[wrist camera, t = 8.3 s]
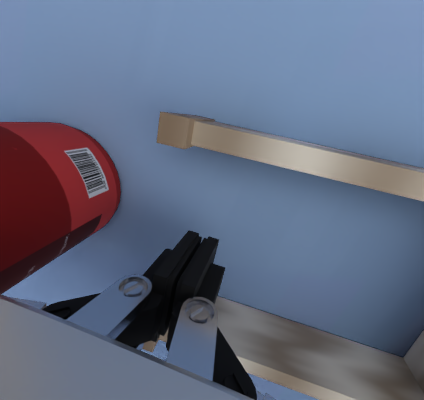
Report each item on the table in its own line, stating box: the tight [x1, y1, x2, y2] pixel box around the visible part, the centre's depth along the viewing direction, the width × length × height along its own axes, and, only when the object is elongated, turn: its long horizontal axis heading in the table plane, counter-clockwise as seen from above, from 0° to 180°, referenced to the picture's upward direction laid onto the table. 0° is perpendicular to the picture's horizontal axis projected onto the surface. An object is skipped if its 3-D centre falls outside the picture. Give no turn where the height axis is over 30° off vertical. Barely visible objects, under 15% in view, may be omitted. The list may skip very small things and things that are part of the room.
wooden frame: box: [142, 112, 424, 400], centre depth 12 cm, size 18×13×5 cm
